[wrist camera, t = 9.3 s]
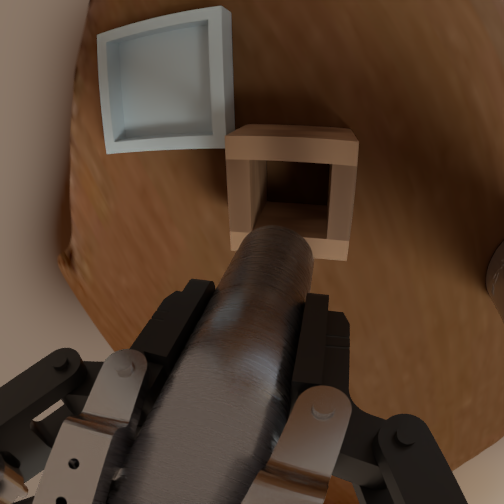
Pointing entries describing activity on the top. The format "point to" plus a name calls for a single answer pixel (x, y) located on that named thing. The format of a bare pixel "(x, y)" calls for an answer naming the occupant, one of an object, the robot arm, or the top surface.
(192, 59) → the tray
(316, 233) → the square hollow tube
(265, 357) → the pin
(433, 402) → the top surface
